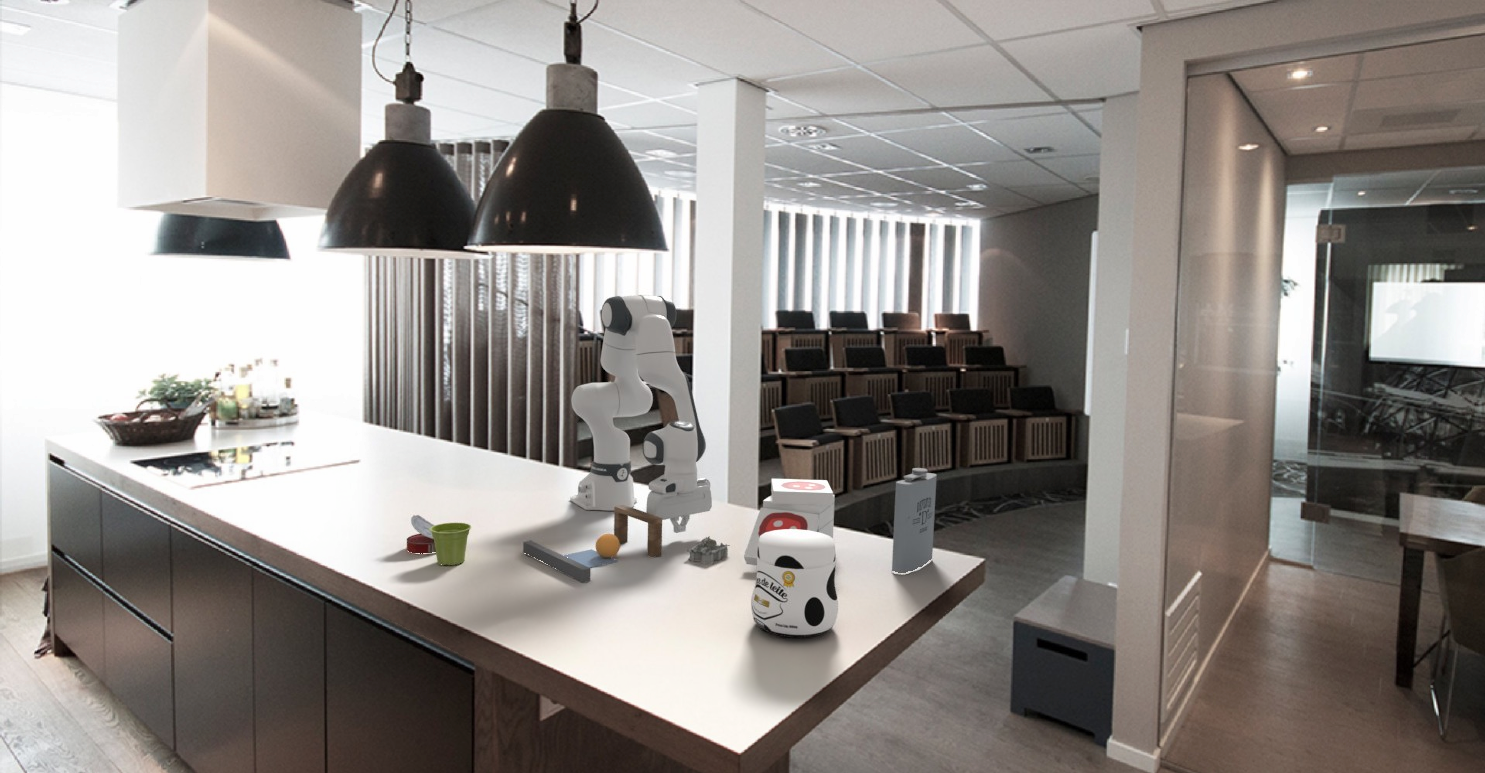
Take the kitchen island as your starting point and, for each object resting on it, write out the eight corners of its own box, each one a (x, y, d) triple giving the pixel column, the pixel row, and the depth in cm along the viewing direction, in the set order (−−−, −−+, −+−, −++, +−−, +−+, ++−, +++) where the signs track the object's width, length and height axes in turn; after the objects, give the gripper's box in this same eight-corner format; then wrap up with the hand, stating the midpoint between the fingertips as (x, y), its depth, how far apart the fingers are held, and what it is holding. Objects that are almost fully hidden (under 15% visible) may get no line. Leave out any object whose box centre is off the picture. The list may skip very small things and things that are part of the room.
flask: (906, 577, 196) (912, 474, 193) (889, 572, 199) (894, 472, 196) (937, 560, 210) (942, 464, 207) (920, 556, 212) (925, 462, 210)
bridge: (652, 557, 205) (652, 519, 204) (613, 542, 217) (614, 506, 216) (661, 555, 207) (662, 517, 206) (623, 540, 219) (623, 504, 219)
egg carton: (708, 550, 214) (709, 535, 213) (732, 556, 209) (733, 540, 209) (684, 560, 205) (684, 544, 204) (708, 566, 201) (708, 549, 200)
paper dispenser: (736, 571, 197) (738, 497, 195) (775, 539, 225) (777, 474, 223) (812, 582, 190) (815, 506, 188) (843, 548, 218) (846, 482, 216)
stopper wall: (523, 553, 205) (523, 541, 205) (530, 551, 207) (530, 540, 207) (582, 582, 185) (582, 569, 185) (590, 580, 186) (590, 568, 186)
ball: (612, 535, 209) (602, 557, 207) (597, 527, 205) (586, 549, 203) (628, 541, 205) (618, 563, 203) (613, 533, 201) (602, 556, 199)
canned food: (427, 560, 212) (440, 523, 216) (450, 564, 206) (463, 526, 210) (389, 549, 204) (404, 510, 207) (413, 553, 198) (427, 513, 202)
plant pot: (422, 561, 197) (422, 526, 196) (459, 553, 203) (459, 519, 203) (441, 571, 190) (441, 534, 189) (478, 562, 197) (478, 527, 196)
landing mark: (550, 558, 202) (550, 557, 202) (591, 549, 210) (591, 549, 210) (575, 571, 193) (575, 570, 193) (618, 561, 201) (618, 560, 201)
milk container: (737, 635, 158) (740, 545, 156) (767, 606, 174) (769, 523, 172) (824, 651, 152) (828, 557, 150) (846, 619, 168) (850, 534, 166)
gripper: (702, 475, 230) (701, 523, 231) (643, 484, 216) (642, 535, 217) (717, 479, 225) (716, 528, 226) (657, 488, 211) (656, 540, 212)
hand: (679, 531), depth 222 cm, fingers closed
